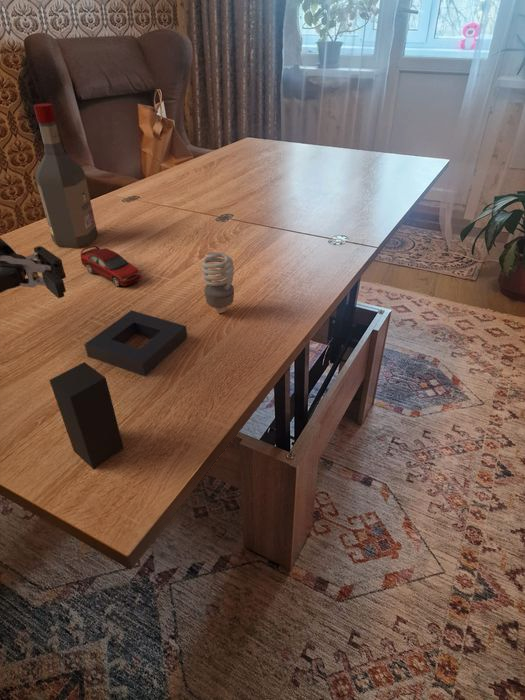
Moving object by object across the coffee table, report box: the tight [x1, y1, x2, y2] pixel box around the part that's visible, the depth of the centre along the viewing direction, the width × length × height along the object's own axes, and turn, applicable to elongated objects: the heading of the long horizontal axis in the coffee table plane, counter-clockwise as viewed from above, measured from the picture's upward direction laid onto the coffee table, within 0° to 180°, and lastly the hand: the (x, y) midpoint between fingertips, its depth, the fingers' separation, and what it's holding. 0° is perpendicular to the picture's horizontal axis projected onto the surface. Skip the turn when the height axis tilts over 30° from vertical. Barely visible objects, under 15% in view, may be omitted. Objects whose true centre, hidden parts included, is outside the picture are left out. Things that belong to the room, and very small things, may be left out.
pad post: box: [49, 361, 125, 470], centre depth 59 cm, size 5×5×12 cm
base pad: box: [84, 309, 188, 377], centre depth 81 cm, size 12×12×2 cm
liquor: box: [33, 102, 99, 249], centre depth 109 cm, size 9×9×30 cm
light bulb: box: [201, 251, 235, 314], centre depth 87 cm, size 6×6×12 cm
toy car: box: [80, 245, 142, 288], centre depth 101 cm, size 6×15×5 cm, turn 47°
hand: (26, 304), depth 57 cm, fingers open, 8 cm apart
